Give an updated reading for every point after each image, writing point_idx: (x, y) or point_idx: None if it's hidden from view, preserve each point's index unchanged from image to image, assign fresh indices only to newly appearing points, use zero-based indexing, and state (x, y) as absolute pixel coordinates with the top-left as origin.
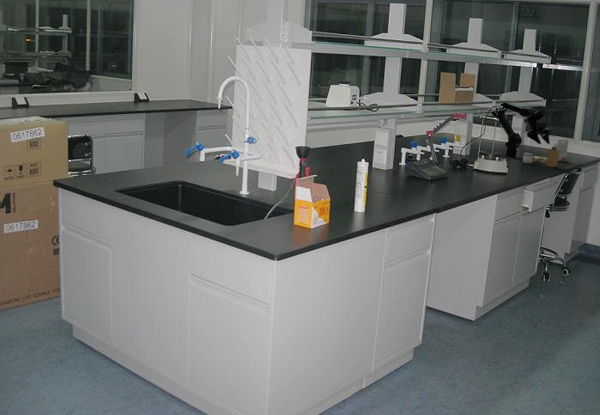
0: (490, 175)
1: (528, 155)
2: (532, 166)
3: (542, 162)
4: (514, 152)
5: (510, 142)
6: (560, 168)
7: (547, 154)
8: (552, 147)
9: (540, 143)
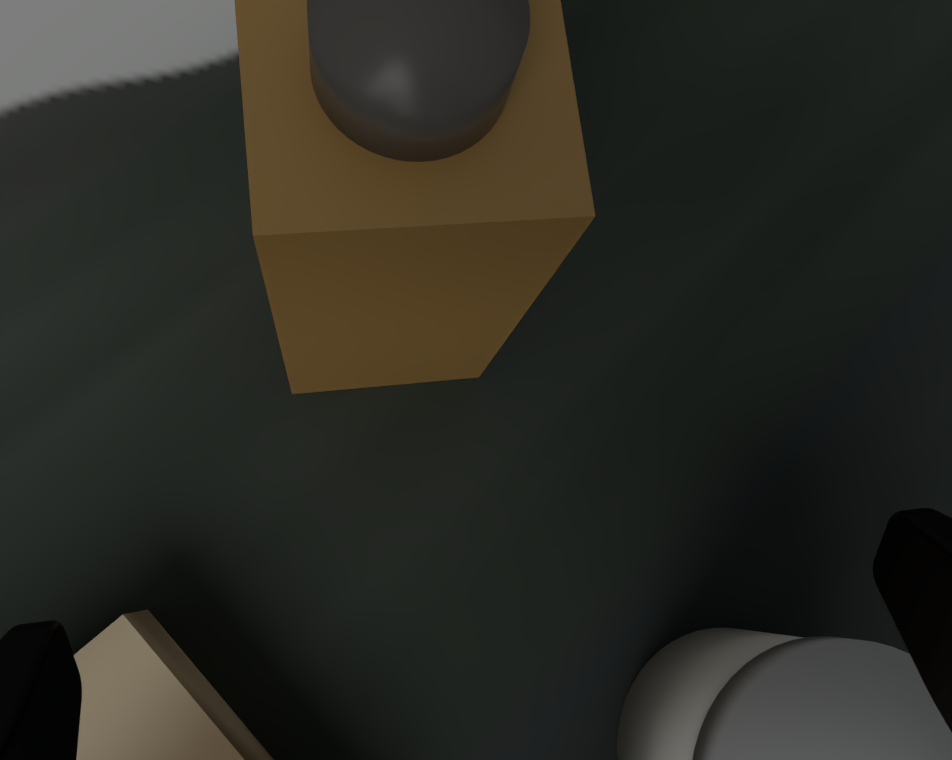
0: None
1: None
2: (935, 311)
3: (229, 707)
4: None
5: None
6: None
7: (539, 285)
8: (526, 37)
9: (927, 520)
